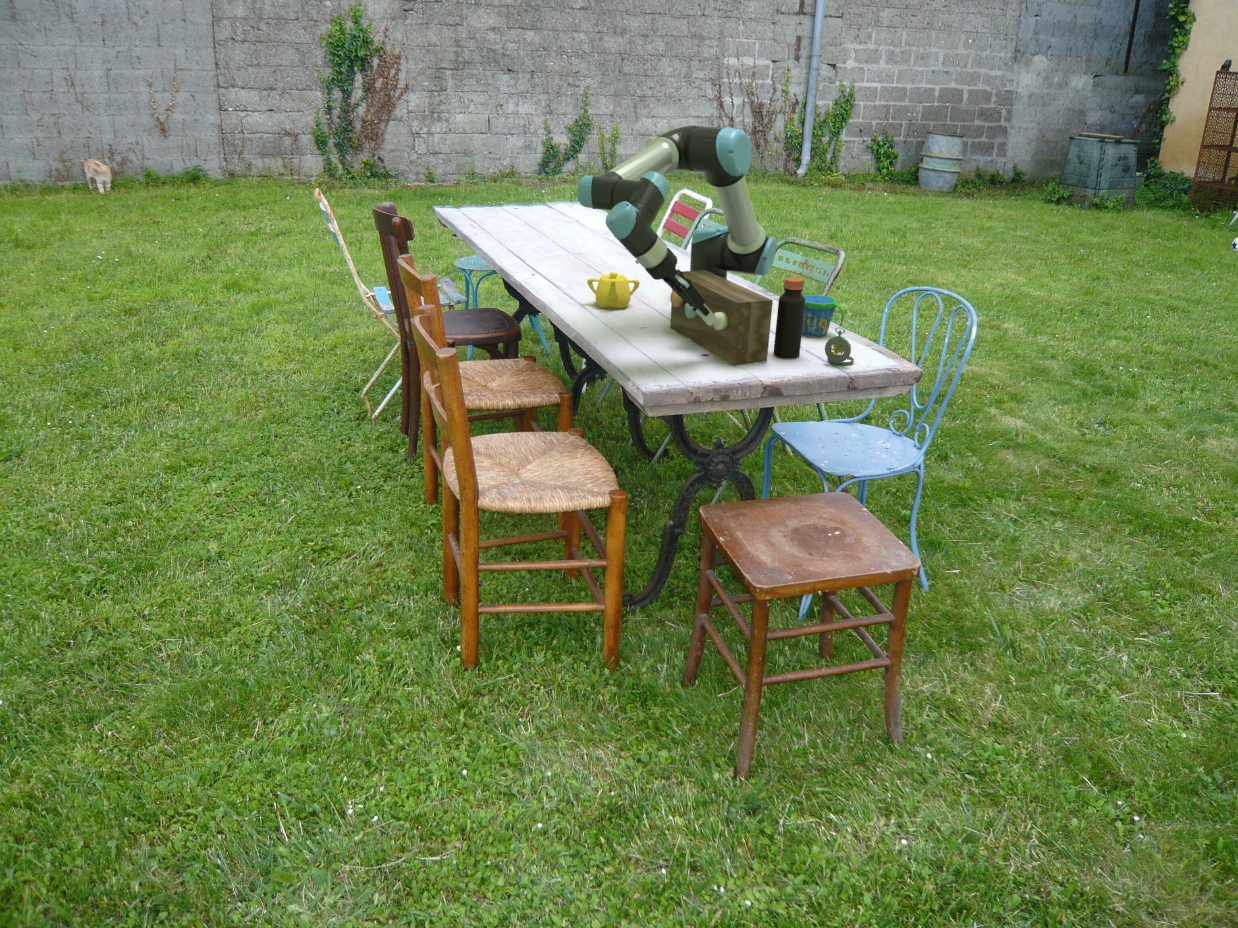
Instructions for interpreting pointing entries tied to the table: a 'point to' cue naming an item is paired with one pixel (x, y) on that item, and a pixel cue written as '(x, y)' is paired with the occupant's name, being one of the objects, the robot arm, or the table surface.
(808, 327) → the snack cup
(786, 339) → the bottle
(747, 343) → the console
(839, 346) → the pocket watch
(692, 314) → the teal button
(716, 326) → the cream button
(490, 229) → the table surface
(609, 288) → the yellow handled pot
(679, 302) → the terracotta button
